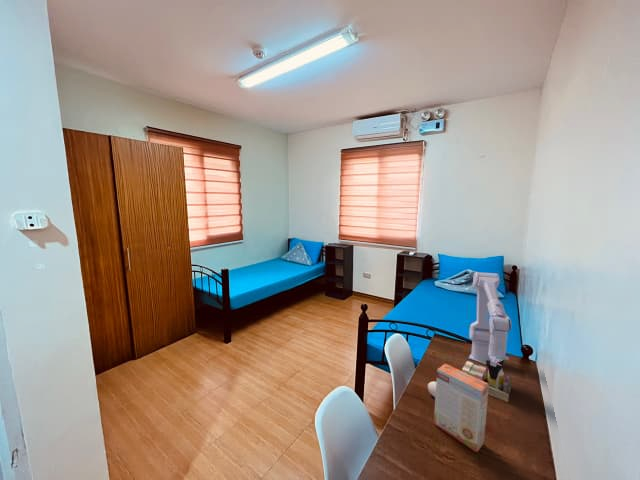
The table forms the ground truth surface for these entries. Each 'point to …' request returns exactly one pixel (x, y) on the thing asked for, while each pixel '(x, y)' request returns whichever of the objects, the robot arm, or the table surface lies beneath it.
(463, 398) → the cracker box
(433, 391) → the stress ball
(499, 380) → the supplement bottle
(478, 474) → the table surface
